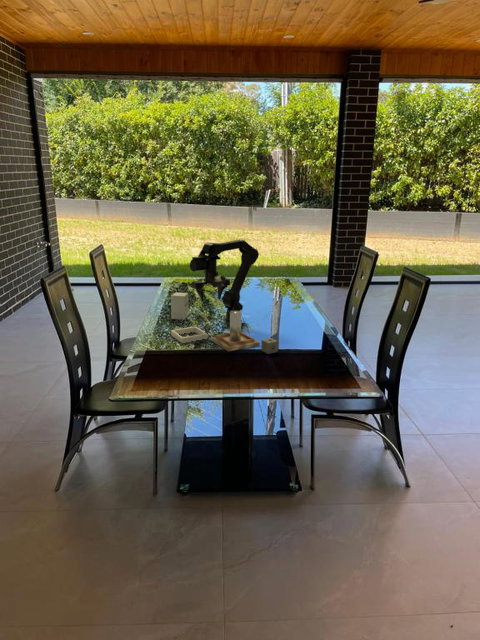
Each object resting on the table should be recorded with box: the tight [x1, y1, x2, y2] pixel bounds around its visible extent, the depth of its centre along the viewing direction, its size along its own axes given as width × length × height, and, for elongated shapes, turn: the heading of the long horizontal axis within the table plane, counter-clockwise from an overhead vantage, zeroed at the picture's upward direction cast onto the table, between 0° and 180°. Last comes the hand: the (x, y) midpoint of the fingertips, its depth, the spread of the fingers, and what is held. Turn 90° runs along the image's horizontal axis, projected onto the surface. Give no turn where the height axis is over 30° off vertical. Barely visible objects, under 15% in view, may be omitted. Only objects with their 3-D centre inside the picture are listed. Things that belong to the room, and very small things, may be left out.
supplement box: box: [170, 292, 189, 321], centre depth 265 cm, size 7×7×13 cm
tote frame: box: [170, 326, 208, 344], centre depth 236 cm, size 13×13×2 cm
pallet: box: [211, 331, 261, 352], centre depth 230 cm, size 16×16×3 cm
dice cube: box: [260, 337, 279, 355], centre depth 220 cm, size 5×5×5 cm
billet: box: [229, 310, 242, 342], centre depth 228 cm, size 5×5×13 cm
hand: (210, 300), depth 250 cm, fingers open, 9 cm apart
